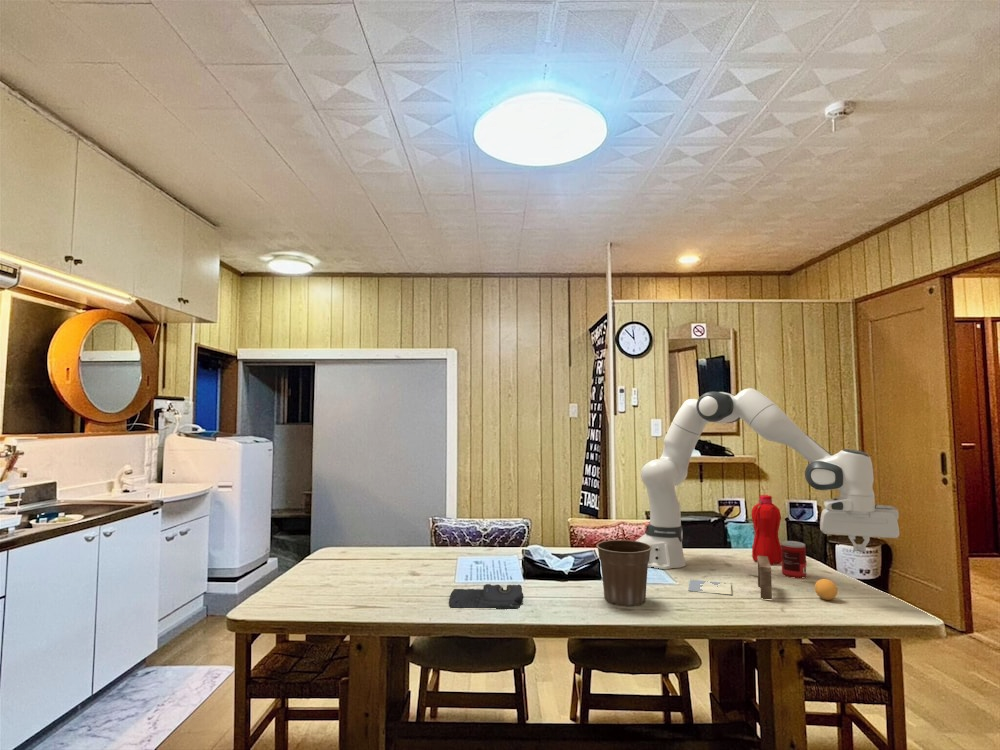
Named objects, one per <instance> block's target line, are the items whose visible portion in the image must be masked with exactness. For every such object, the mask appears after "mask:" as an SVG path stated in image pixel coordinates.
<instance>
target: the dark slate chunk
mask: <svg viewBox="0 0 1000 750" xmlns="http://www.w3.org/2000/svg"><path fill="white" fill-rule="evenodd" d="M524 598H525V597H524V593H523V587H522V585H521V584H507V585H506V589H504V587H503V586H501V584H493V585H492V584H491V583H486V584H484V585H483V586H482V589H480V588H476V589H474V588H466V589H465V588H453V590H452V591H451V593H450V595H449V599H448V602H449V603H448V607H449V608H450V609H451V608H496V609H495V610H505V609H506V610H507V609H517V610H518V609H521V608H520V605H522V604H523V603H522V602H524ZM521 603H522V604H521Z"/></svg>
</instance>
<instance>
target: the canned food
mask: <svg viewBox="0 0 1000 750" xmlns="http://www.w3.org/2000/svg"><path fill="white" fill-rule="evenodd" d="M780 546H781V556H782V562H781V572H782V575H783V576H784V575H785V577H787V576H788V578H791V577H795V578H794V579H803V578H802V577H805V578H806V576H807V549H806V547H807V546H806V543H805V542H804V543H803V542H802V541H801V542H800V541H795V540H782V541H781V542H780Z"/></svg>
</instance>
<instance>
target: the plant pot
mask: <svg viewBox="0 0 1000 750" xmlns="http://www.w3.org/2000/svg"><path fill="white" fill-rule="evenodd" d="M596 548H597V551H598V559H599V560H600V561H599V562H600V567H601V576H602V577H601V578H602V585H603V594H604V595H603V596H604V597H603V598H604V599H605V602H607V603H609V604H612V605H614V604H617V605H618V606H622V607H624V606H625V607H635V606H640V605H642V604H643V603H646V599H647V582H648V581H647V580H648V568H649V567H648V562H649V557H650V550H651V549H652V547H651V546H650V545H648V544H646V543H642V542H638V541H636V540H632V539H631V540H630V539H629V540H628V539H612V540H610V539H609V540H604V541H601V542H598V543H596Z"/></svg>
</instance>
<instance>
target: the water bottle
mask: <svg viewBox="0 0 1000 750" xmlns="http://www.w3.org/2000/svg"><path fill="white" fill-rule="evenodd" d="M758 499H759V500H758V501H759V502H758V503H757V504H755V505H754V506H753V507H752V508H751V520H752V525H753V529H754V539H753V544H752V549H751V550H752V551H751V557H752V560H753V561H754V562H756V563H758V560H757V556H767V557H768V560H769V563H770V566H772V565H777V564H782V556H781V542H780V538H779V530H780V523H781V519H782V515H781V511H780V509H779V508H778V506H776V505H775V504H773V497H772V495H768V494H761V495H759V498H758Z"/></svg>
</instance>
